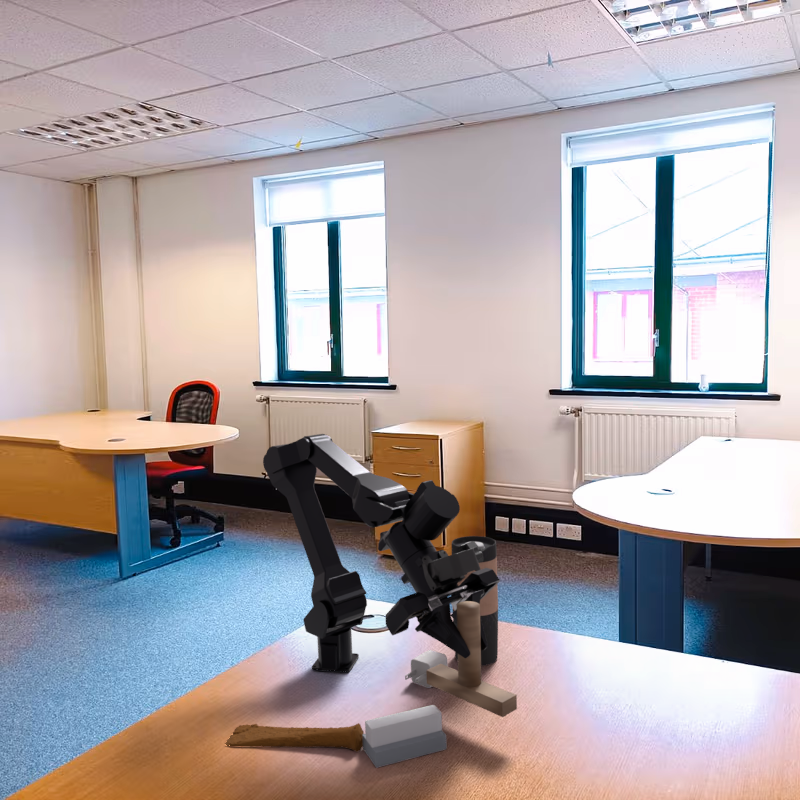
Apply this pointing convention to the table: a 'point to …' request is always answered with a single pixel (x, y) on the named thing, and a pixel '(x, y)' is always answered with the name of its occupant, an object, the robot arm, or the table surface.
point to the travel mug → (489, 600)
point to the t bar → (471, 669)
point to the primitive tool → (297, 737)
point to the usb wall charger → (425, 666)
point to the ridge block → (404, 735)
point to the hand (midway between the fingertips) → (476, 652)
